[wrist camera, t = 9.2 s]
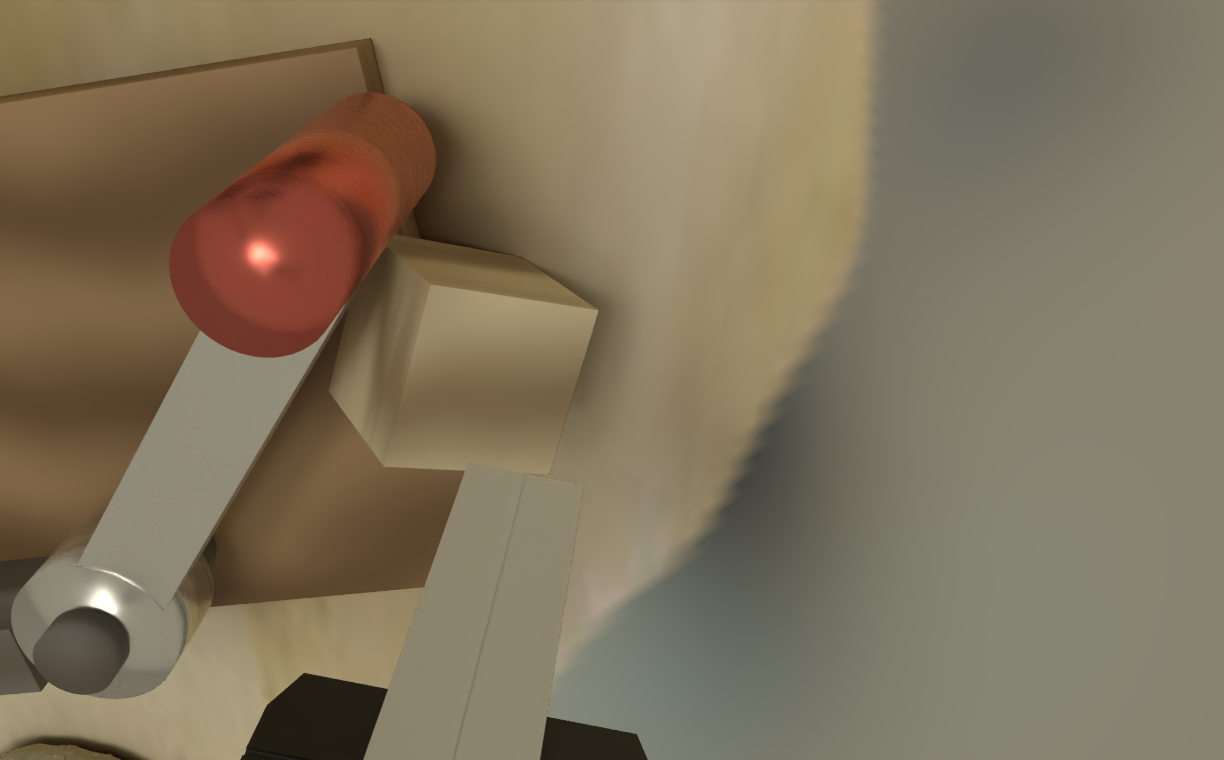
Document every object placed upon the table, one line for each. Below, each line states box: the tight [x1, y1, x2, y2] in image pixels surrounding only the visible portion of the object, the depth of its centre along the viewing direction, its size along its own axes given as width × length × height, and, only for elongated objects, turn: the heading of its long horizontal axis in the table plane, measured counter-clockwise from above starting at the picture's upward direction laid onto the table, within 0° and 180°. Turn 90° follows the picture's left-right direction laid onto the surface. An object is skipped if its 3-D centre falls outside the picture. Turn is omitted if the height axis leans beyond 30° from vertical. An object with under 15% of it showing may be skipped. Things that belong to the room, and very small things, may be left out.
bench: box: [0, 38, 465, 695], centre depth 32 cm, size 18×22×8 cm
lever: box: [11, 92, 436, 699], centre depth 28 cm, size 21×5×9 cm, turn 147°
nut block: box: [329, 234, 599, 475], centre depth 30 cm, size 5×5×5 cm
